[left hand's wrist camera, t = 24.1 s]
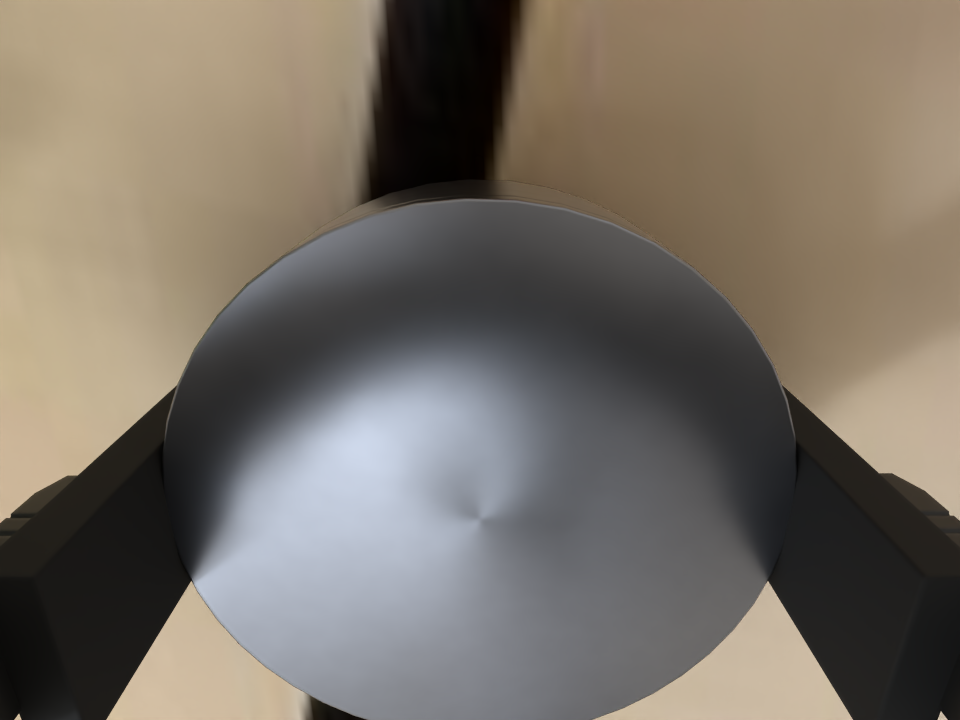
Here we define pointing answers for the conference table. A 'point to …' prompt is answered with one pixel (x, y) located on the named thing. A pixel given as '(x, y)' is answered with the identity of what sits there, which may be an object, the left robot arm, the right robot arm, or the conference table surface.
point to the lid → (479, 460)
